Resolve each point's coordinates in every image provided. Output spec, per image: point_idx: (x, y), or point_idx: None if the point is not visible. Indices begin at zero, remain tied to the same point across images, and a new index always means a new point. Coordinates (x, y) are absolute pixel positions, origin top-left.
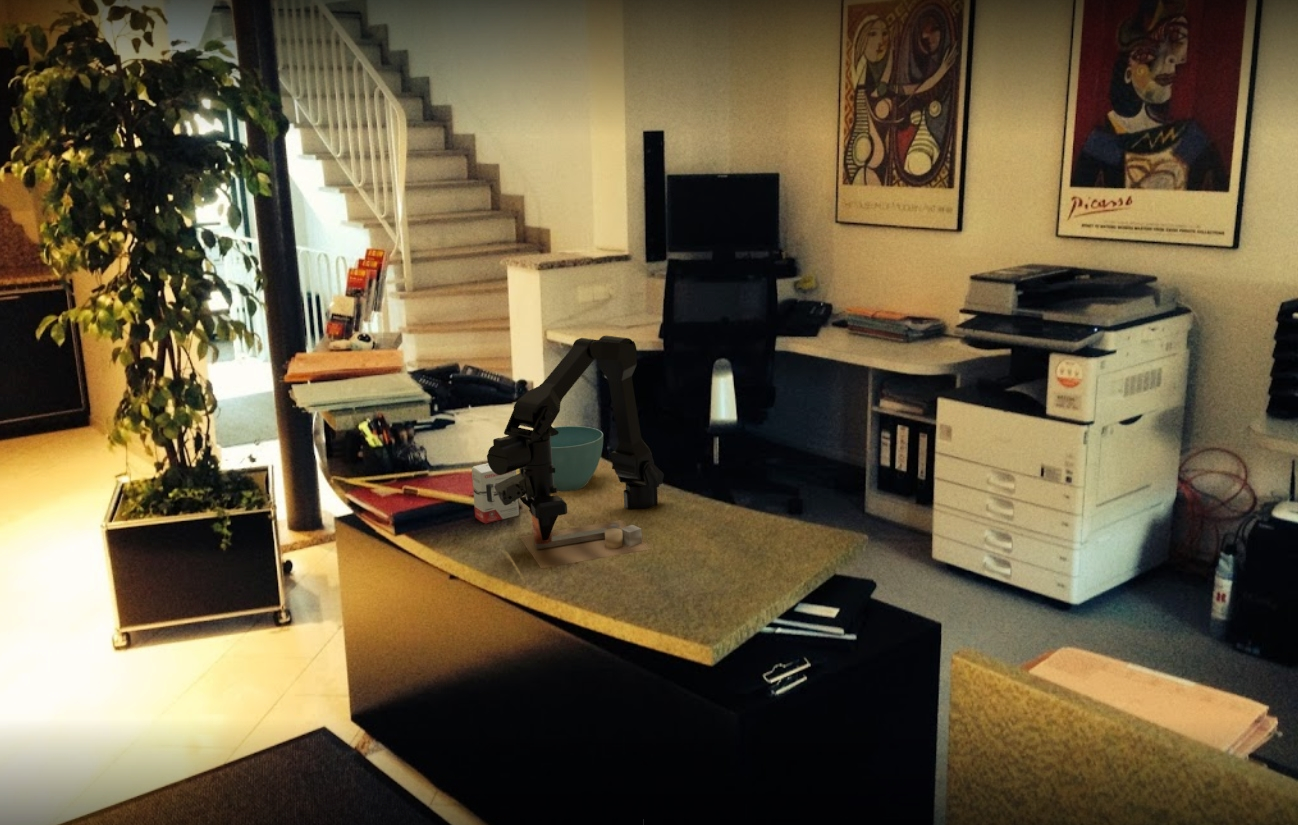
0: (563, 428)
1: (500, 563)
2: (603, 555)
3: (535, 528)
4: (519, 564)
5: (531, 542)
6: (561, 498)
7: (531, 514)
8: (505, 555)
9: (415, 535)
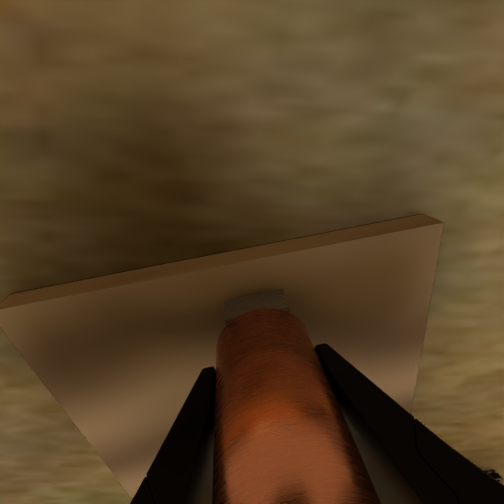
0: None
1: (170, 92)
2: (133, 475)
3: (234, 402)
4: (142, 201)
5: (340, 274)
6: None
7: (435, 439)
8: (284, 131)
9: None
